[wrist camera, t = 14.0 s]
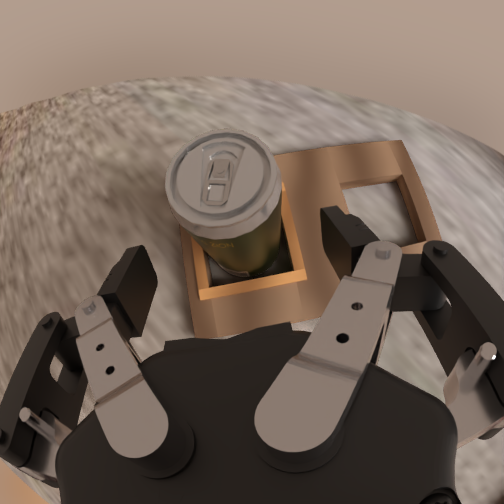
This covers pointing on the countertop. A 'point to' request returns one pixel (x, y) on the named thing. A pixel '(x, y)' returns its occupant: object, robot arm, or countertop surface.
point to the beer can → (228, 199)
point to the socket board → (303, 238)
